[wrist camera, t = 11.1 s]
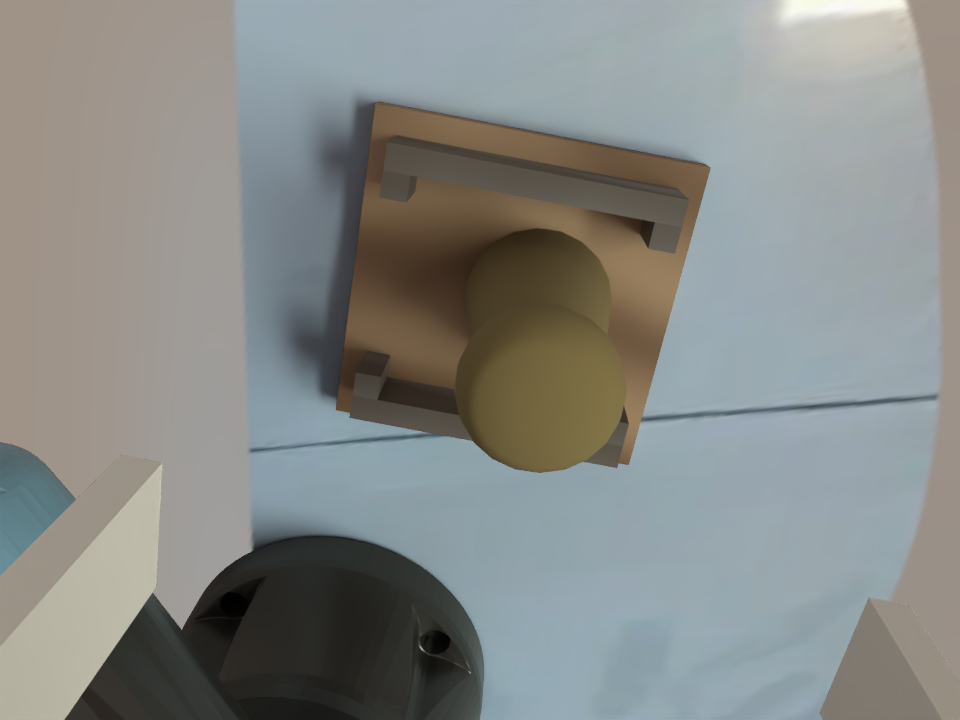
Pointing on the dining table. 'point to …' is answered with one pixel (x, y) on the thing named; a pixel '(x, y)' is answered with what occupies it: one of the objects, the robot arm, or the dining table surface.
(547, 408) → the cork
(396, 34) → the dining table surface
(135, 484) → the robot arm
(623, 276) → the socket
